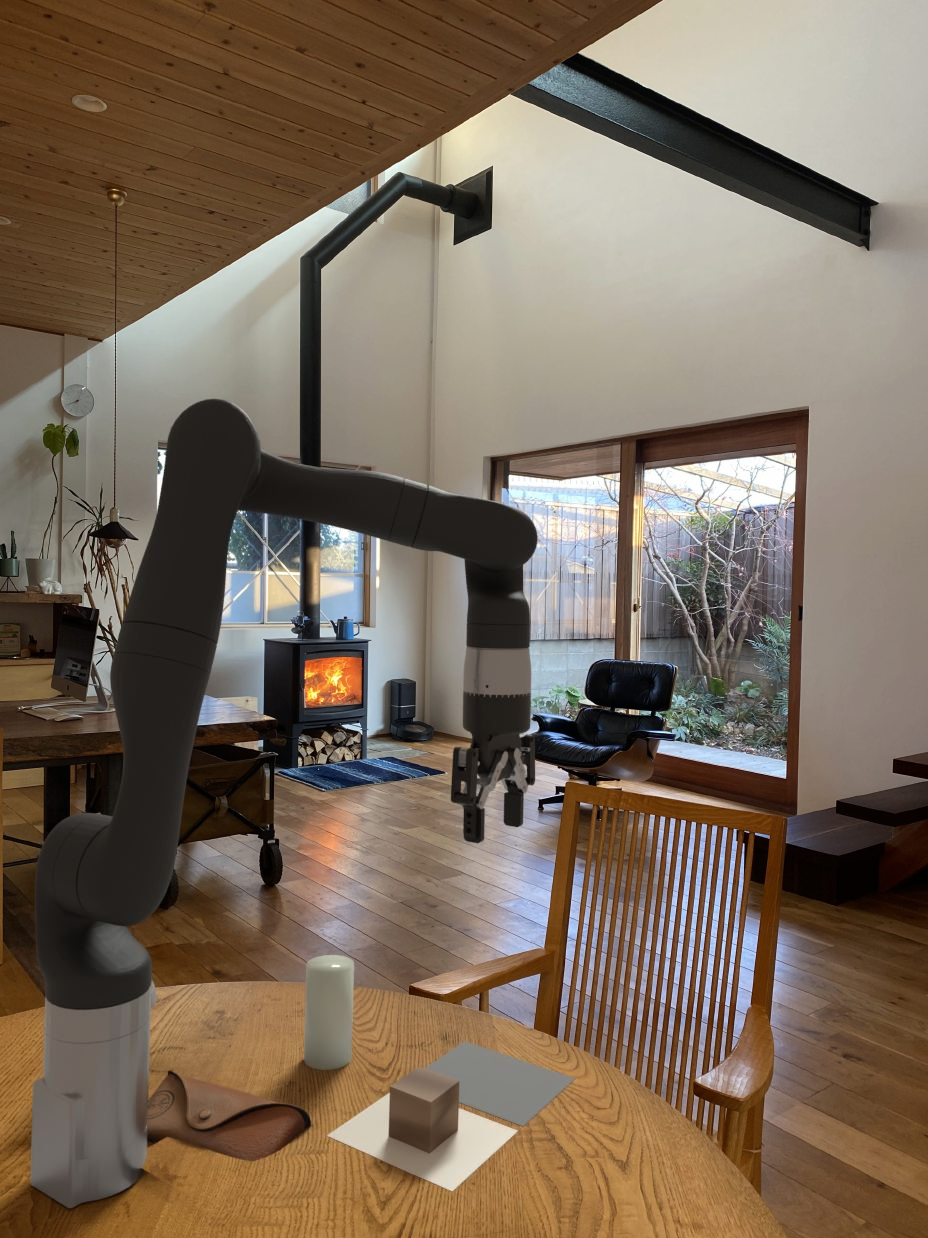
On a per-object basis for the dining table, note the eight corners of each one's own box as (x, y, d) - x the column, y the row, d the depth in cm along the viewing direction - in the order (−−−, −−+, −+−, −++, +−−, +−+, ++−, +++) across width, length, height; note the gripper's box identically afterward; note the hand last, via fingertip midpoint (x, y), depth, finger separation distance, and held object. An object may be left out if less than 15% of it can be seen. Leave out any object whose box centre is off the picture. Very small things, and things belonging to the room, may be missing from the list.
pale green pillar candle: (329, 1083, 104) (332, 977, 104) (293, 1069, 107) (296, 965, 107) (361, 1064, 108) (363, 962, 108) (325, 1050, 111) (328, 951, 111)
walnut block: (429, 1154, 89) (431, 1102, 89) (388, 1136, 92) (389, 1086, 92) (458, 1130, 93) (459, 1081, 93) (417, 1114, 96) (419, 1066, 96)
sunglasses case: (112, 1135, 92) (137, 1063, 95) (152, 1139, 98) (175, 1071, 101) (265, 1181, 86) (287, 1102, 89) (299, 1183, 91) (318, 1108, 95)
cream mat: (451, 1202, 84) (452, 1191, 84) (326, 1145, 92) (326, 1135, 92) (517, 1141, 94) (518, 1131, 94) (399, 1094, 102) (399, 1085, 102)
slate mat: (522, 1136, 95) (523, 1126, 95) (405, 1090, 103) (405, 1082, 103) (574, 1087, 105) (575, 1078, 105) (464, 1049, 113) (464, 1041, 113)
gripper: (493, 696, 94) (490, 854, 95) (556, 685, 106) (553, 825, 107) (432, 691, 98) (430, 842, 99) (500, 681, 110) (498, 816, 111)
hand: (494, 833), depth 103 cm, fingers open, 8 cm apart
